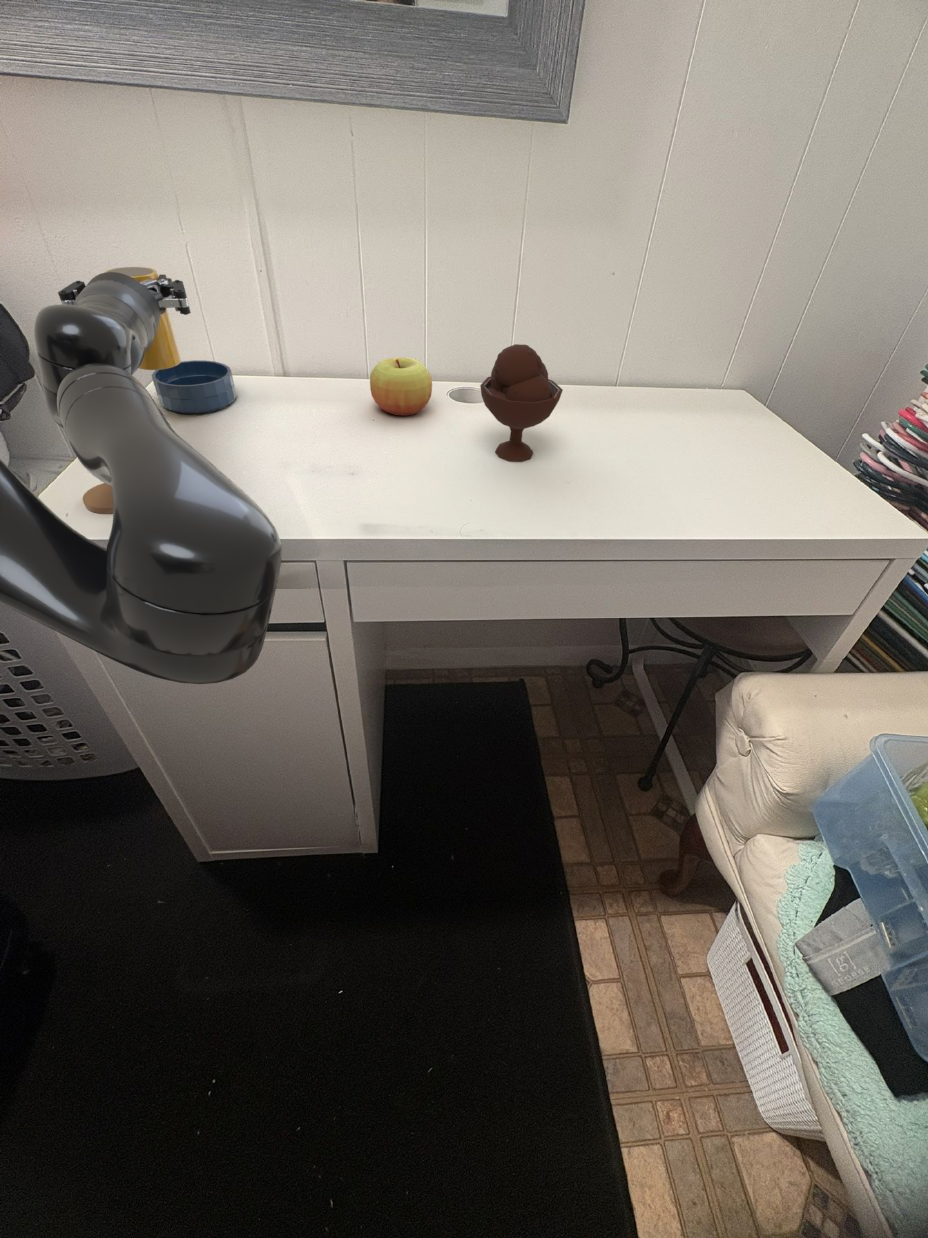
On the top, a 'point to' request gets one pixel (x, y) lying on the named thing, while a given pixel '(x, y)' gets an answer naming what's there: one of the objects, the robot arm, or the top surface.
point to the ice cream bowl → (519, 397)
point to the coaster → (99, 499)
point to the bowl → (195, 386)
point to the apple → (401, 385)
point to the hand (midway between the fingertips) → (137, 283)
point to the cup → (164, 341)
